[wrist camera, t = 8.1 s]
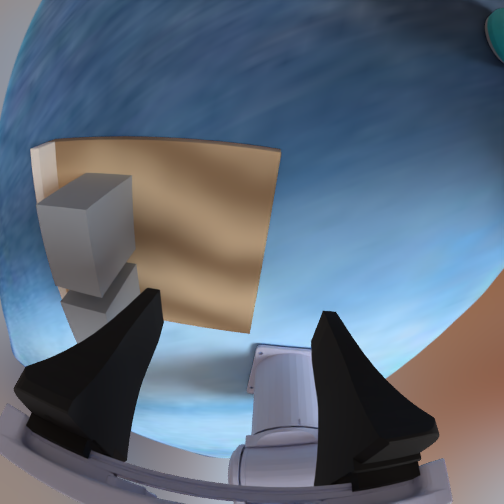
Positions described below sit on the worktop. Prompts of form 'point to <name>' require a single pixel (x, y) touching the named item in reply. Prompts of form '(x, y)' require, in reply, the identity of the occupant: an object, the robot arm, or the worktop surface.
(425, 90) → the worktop surface
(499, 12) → the beverage can
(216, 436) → the worktop surface
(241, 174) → the shelf board
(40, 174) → the rail
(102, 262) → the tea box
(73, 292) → the faced box
